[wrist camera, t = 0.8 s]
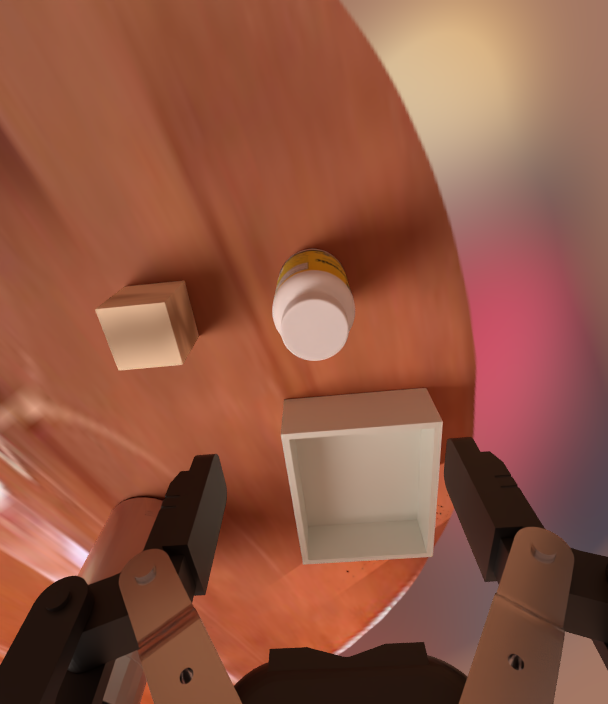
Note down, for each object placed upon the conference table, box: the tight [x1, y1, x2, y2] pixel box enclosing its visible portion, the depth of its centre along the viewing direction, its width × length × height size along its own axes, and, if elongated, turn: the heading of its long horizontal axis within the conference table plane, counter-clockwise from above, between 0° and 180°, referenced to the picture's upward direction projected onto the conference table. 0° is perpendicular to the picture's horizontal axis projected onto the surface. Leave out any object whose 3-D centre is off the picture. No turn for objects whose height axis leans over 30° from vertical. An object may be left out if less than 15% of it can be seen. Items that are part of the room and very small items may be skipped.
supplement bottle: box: [272, 249, 355, 361], centre depth 27 cm, size 5×5×10 cm
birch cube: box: [95, 280, 199, 370], centre depth 30 cm, size 5×5×5 cm
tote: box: [281, 388, 443, 564], centre depth 38 cm, size 17×13×5 cm
